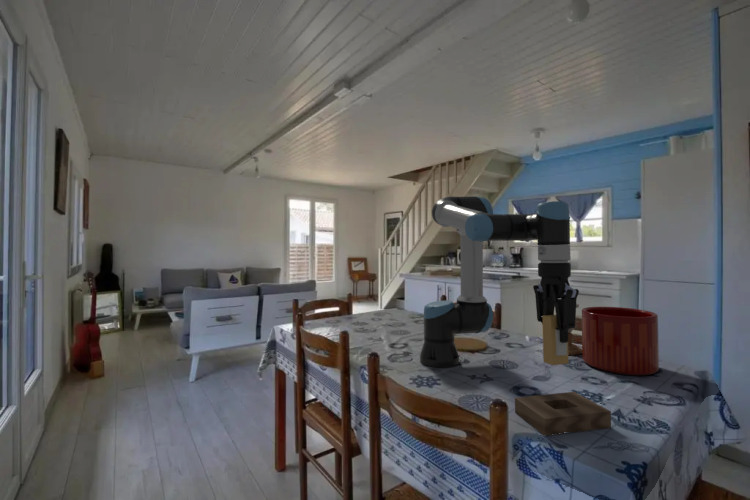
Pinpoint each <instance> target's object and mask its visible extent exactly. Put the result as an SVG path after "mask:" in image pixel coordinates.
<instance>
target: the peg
mask: <svg viewBox="0 0 750 500" xmlns="http://www.w3.org/2000/svg"><path fill="white" fill-rule="evenodd" d="M542 317H543V324H542V348H543V354H542V355H543V363H546V364H548V365H550V366H557V365H566V364H570V363H569V361H570V360H569V358H570V357H569V355H568V343H567V355H560V356H557V355H556V342H555V328H556V327H558V325H557V318H556V314H554V315H544V316H542Z"/></svg>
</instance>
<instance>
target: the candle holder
mask: <svg viewBox="0 0 750 500" xmlns="http://www.w3.org/2000/svg"><path fill="white" fill-rule="evenodd" d="M579 306H580V304H578V303H576V309H577V308H580V307H579ZM573 329H574V328H571V329H568V356H579V355H582V347H579V346H578V345H577V344H575V343H573V342H572V341H573V340H572V339H573V337H574V335H573V333H572V332H573Z"/></svg>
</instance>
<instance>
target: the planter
mask: <svg viewBox="0 0 750 500" xmlns="http://www.w3.org/2000/svg"><path fill="white" fill-rule="evenodd" d="M659 341H660V340H659V315H658V314H657V313H655V312H653V311H649V310H645V309H638V308H630V307H622V306H621V307H620V306H619V307H618V306H588V307H584V308H582V309H581V349H582V354H581V355H582V357H581V358H582V360H583V361H584V363H586V364H587V365H588V366H590V367H592V368H594V369H597V370H599V371H601V372H602V371H603V372H606V373H611V374H614V375H615V374H616V375H622V376H630V377H631V376H634V377H636V376H637V377H638V376H639V377H641V376H643V377H644V376H649V375H653V374H655V373H657V372H659V370H660V354H659V352H660V351H659V350H660V349H659V347H660V345H659V344H660V343H659Z"/></svg>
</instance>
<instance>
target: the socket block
mask: <svg viewBox="0 0 750 500" xmlns="http://www.w3.org/2000/svg"><path fill="white" fill-rule="evenodd" d="M514 413H515V414H516V415H518V416H519V417H520V418H521V419H523V420H524V421H525V422H526V421H527V422H526V423H528V424H529V423H530V424H531V425H532V426H531V425H530V424H529V425H530V426H531V427H533V428H534V429H535V428H536V429H537V430H536V429H535V430H536V431H538V432H539V433H540V434H542V435H543V436H544V435H546V436H545V437H548V436H547V435H550V436H553V435H552V434H558V435H560V434H559V433H564V432H574V433H579V432H578V431H582V432H588V430H590V431H597V430H596V429H598V430H605V428H606V429H611V428H612V411H611V410H609V409H607V408H605V407H603V406H601V405H599V404H598V403H596V402H594V401H592V400H591V399H588V398H587V397H585V396H583V395H581V394H579V393H577V392H575V391H569V392H557V393H551V394H550V393H549V394H539V395H529V396H527V395H526V396H519V397H514Z"/></svg>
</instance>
